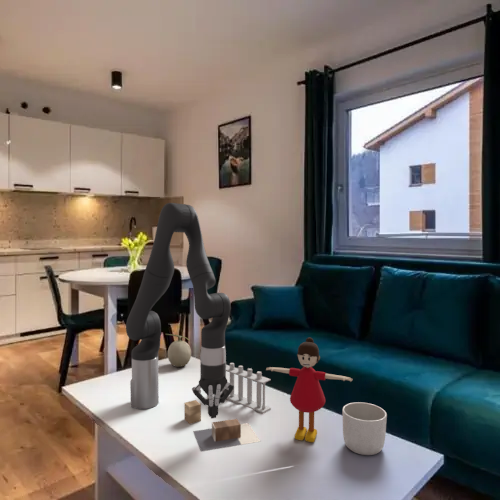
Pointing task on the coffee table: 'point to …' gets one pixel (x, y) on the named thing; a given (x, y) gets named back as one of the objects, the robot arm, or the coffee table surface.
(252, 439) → the mat
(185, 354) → the fruit
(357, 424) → the planter
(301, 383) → the toy
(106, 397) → the coffee table surface
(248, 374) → the test tube rack
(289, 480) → the coffee table surface
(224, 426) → the walnut block
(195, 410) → the oak block
